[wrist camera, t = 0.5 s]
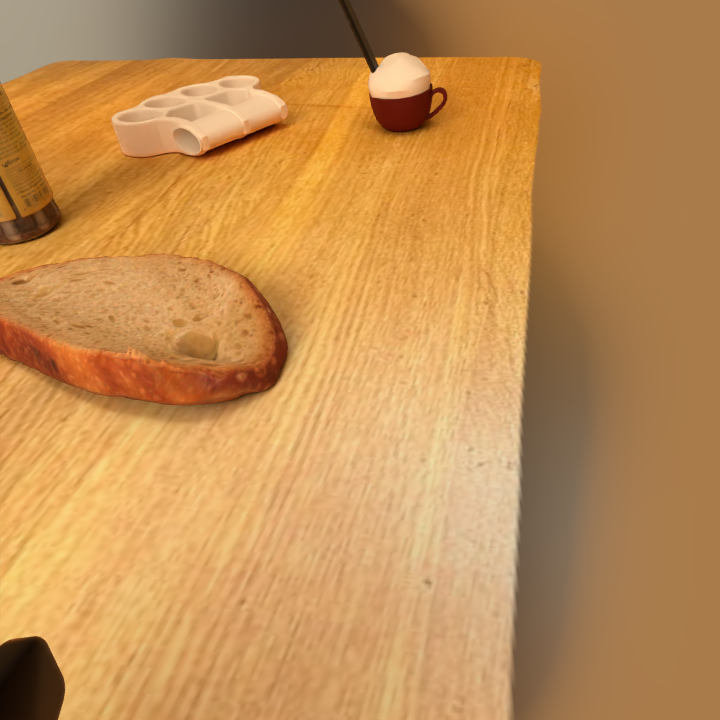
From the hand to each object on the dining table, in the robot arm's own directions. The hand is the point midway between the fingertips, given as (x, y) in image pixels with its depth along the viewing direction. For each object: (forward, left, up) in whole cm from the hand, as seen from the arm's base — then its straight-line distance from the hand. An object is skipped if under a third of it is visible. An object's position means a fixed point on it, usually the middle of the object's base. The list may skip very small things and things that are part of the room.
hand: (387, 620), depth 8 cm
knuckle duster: (+60, +24, -13) cm, 65 cm away
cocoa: (+59, +3, -13) cm, 60 cm away
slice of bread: (+23, +18, -13) cm, 32 cm away
